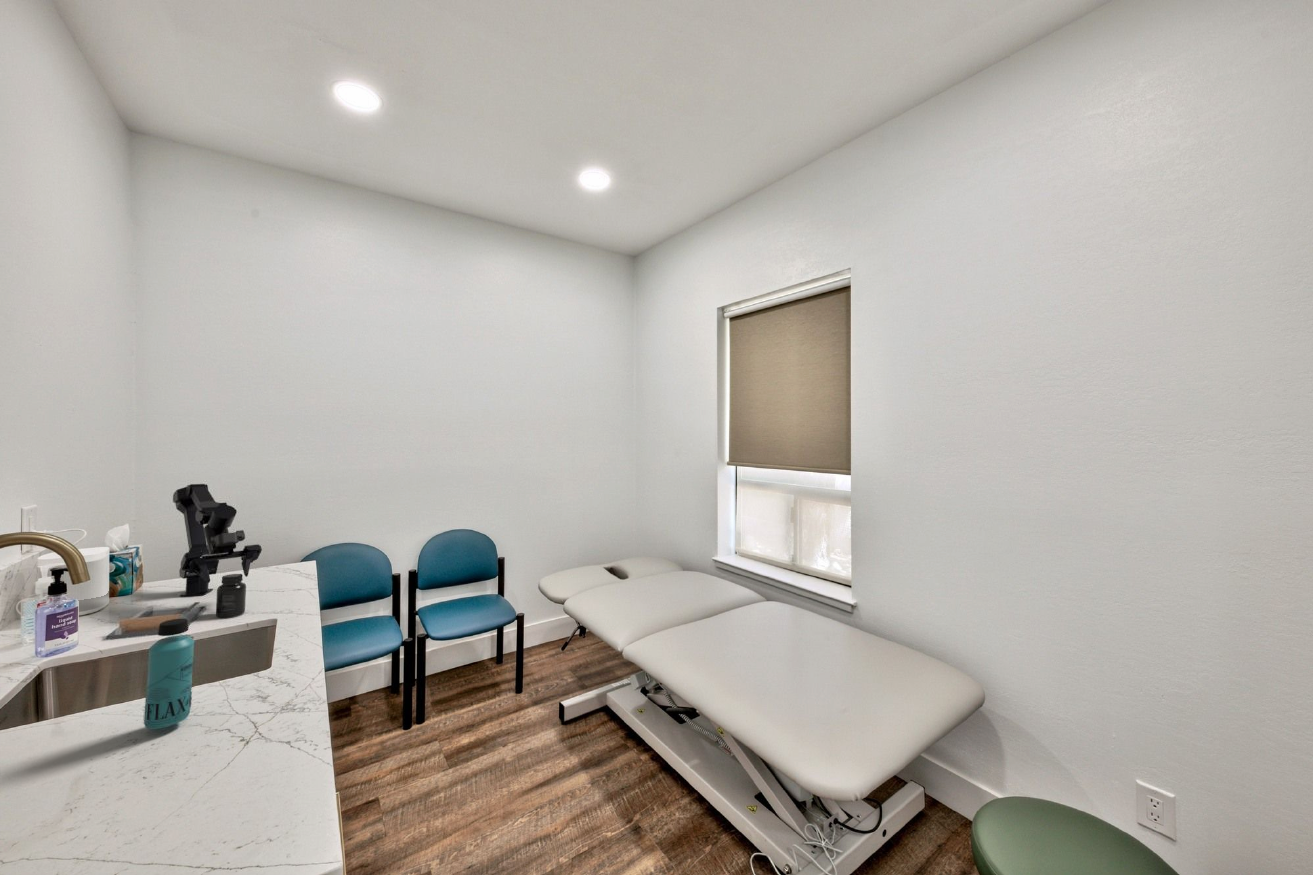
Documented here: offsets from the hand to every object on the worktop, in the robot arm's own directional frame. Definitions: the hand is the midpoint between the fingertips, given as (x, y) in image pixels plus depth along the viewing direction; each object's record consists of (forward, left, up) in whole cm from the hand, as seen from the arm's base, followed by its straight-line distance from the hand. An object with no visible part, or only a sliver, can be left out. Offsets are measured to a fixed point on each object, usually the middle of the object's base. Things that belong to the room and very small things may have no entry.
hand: (228, 578), depth 153 cm
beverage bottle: (+70, +19, -11) cm, 73 cm away
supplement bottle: (+3, +2, -11) cm, 11 cm away
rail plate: (+7, -13, -10) cm, 18 cm away
